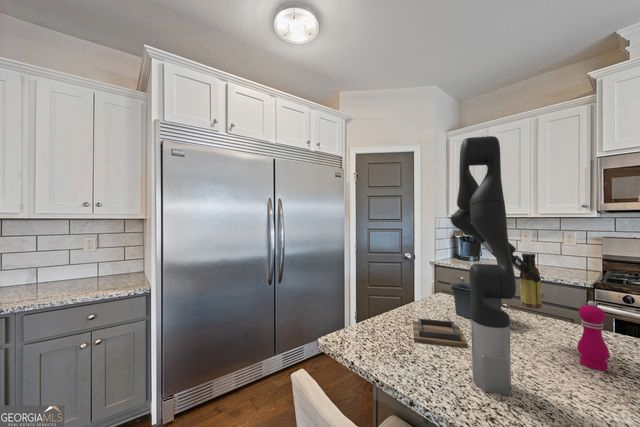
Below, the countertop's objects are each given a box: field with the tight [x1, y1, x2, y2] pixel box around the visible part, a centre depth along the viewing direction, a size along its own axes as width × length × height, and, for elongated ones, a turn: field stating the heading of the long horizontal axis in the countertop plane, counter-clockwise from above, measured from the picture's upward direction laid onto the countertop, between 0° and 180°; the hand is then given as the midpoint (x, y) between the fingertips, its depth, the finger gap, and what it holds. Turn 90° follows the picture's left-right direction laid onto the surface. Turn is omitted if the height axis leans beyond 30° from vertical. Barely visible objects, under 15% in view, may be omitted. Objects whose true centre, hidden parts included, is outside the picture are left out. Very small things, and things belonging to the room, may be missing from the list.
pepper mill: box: [576, 300, 610, 371], centre depth 87 cm, size 7×7×20 cm
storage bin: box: [449, 281, 503, 319], centre depth 129 cm, size 21×16×14 cm
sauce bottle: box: [519, 252, 543, 310], centre depth 104 cm, size 7×6×20 cm
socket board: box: [412, 318, 468, 349], centre depth 110 cm, size 18×18×4 cm
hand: (535, 279), depth 103 cm, fingers closed on sauce bottle, 6 cm apart
